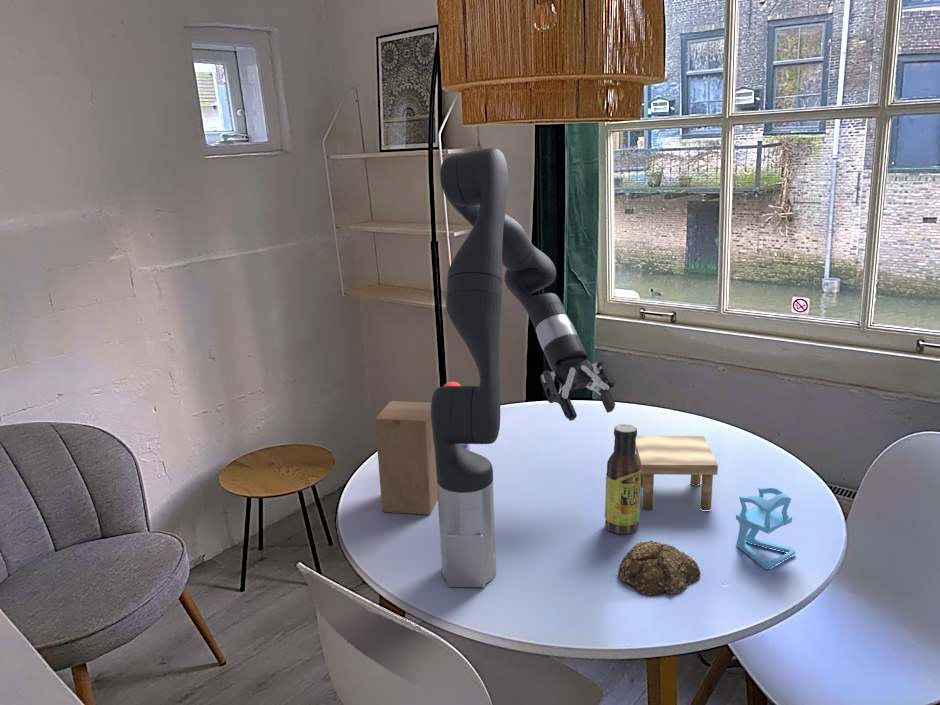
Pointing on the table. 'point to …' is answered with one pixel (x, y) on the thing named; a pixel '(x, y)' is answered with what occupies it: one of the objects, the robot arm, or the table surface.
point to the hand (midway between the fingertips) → (592, 414)
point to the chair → (763, 523)
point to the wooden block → (406, 458)
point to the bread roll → (658, 569)
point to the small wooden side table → (676, 463)
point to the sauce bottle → (623, 482)
